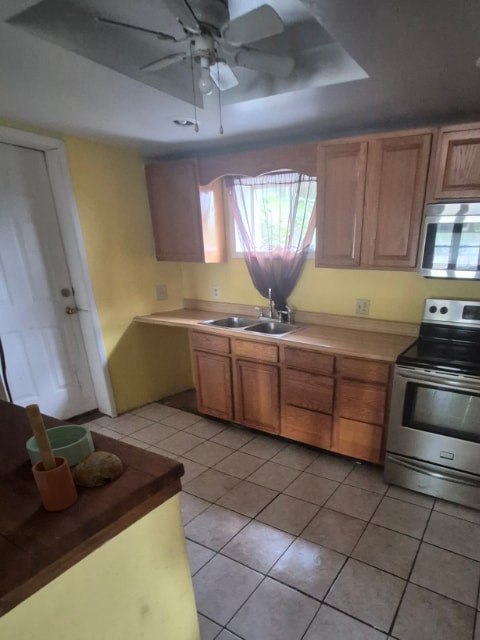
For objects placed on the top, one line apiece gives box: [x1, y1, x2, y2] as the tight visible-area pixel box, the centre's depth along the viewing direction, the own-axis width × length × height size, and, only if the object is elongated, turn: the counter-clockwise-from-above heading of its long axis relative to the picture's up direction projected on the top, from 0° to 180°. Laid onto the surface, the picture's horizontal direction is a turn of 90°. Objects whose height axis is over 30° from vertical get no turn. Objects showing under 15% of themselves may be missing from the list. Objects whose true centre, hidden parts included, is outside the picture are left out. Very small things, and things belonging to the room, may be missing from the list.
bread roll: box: [73, 451, 124, 488], centre depth 86 cm, size 10×10×8 cm
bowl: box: [25, 424, 95, 468], centre depth 94 cm, size 14×14×6 cm
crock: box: [31, 456, 79, 512], centre depth 76 cm, size 6×6×10 cm
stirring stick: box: [25, 403, 57, 471], centre depth 74 cm, size 3×2×22 cm, turn 81°
